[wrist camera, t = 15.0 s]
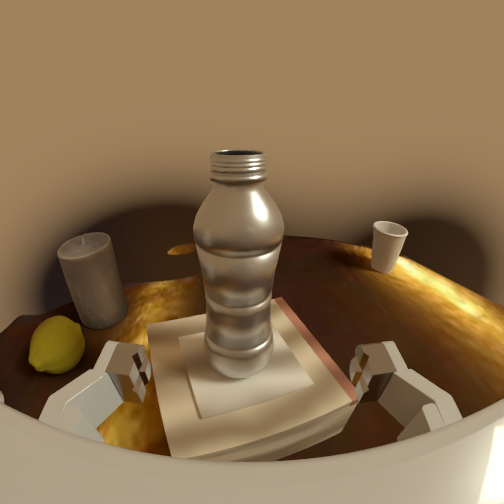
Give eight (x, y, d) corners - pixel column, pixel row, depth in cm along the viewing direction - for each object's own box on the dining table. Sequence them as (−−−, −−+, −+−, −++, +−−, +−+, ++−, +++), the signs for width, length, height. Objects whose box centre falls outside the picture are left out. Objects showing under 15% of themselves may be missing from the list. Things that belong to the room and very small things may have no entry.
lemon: (77, 335, 39) (61, 297, 35) (104, 356, 36) (87, 315, 32) (32, 370, 30) (9, 332, 27) (55, 398, 27) (28, 359, 24)
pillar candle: (136, 300, 49) (120, 224, 42) (114, 334, 40) (87, 251, 34) (95, 295, 50) (77, 225, 43) (71, 325, 41) (43, 249, 34)
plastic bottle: (207, 340, 30) (193, 148, 21) (269, 339, 30) (280, 148, 21) (204, 387, 24) (178, 160, 15) (276, 385, 24) (297, 160, 15)
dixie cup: (403, 268, 61) (413, 230, 56) (388, 280, 56) (399, 238, 52) (375, 255, 67) (383, 218, 62) (358, 265, 62) (366, 225, 58)
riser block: (341, 432, 27) (363, 394, 23) (189, 484, 21) (172, 459, 17) (277, 338, 42) (281, 295, 38) (158, 366, 36) (145, 322, 32)
